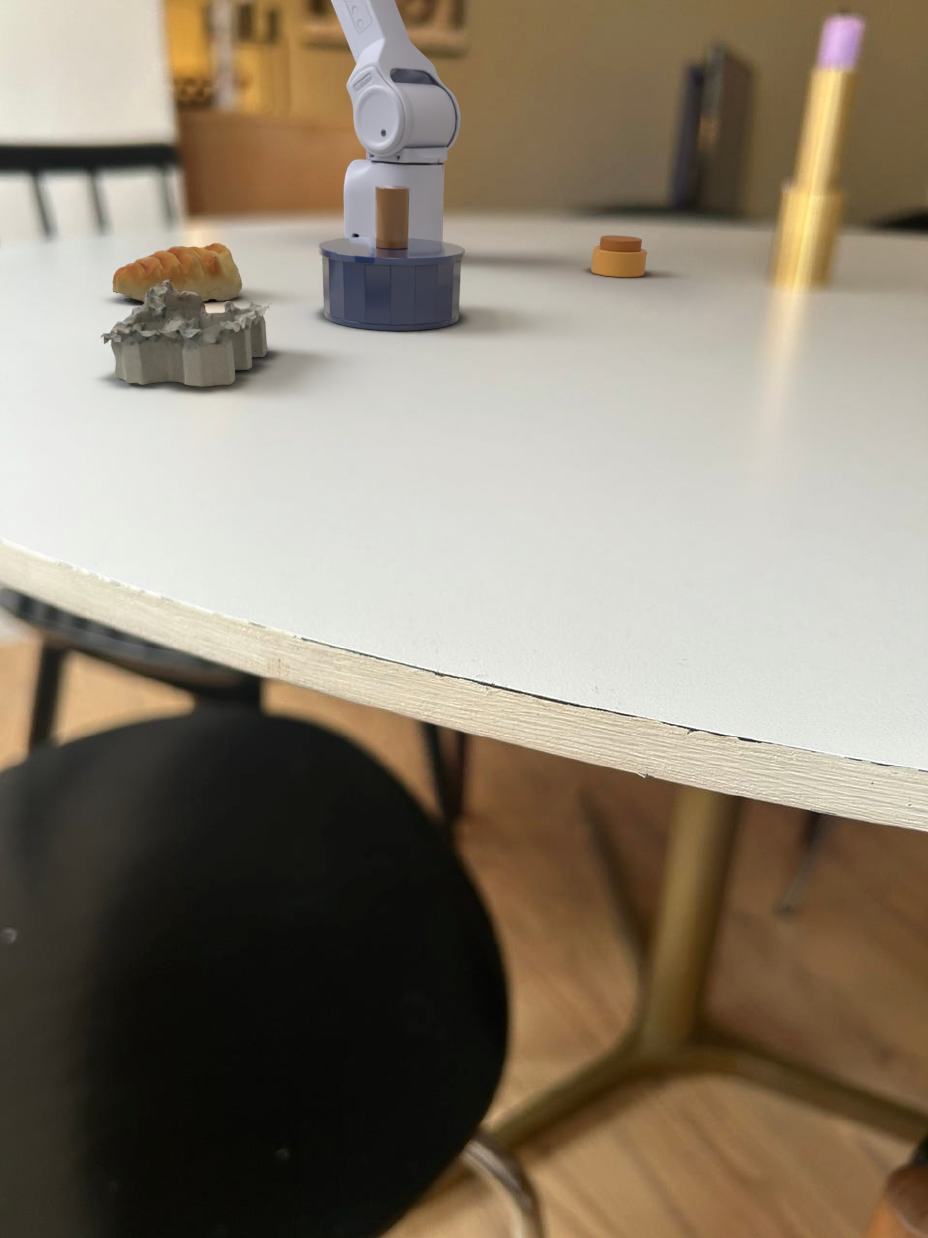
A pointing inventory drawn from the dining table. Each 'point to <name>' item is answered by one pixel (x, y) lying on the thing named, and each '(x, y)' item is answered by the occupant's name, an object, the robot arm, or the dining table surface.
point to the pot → (391, 295)
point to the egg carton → (186, 340)
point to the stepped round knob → (619, 257)
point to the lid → (391, 238)
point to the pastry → (182, 273)
